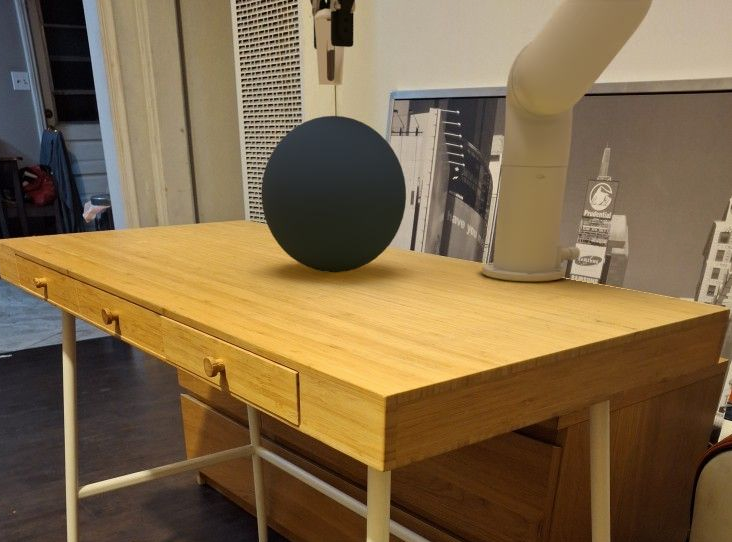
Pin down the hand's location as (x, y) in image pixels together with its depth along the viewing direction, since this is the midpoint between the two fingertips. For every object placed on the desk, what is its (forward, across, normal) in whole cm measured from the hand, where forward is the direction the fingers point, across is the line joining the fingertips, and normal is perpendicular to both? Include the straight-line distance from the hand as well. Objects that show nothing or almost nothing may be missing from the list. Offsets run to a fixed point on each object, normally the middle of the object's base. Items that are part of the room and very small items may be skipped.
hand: (333, 46), depth 106 cm
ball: (+31, 0, 0) cm, 31 cm away
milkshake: (+5, 0, 0) cm, 5 cm away
